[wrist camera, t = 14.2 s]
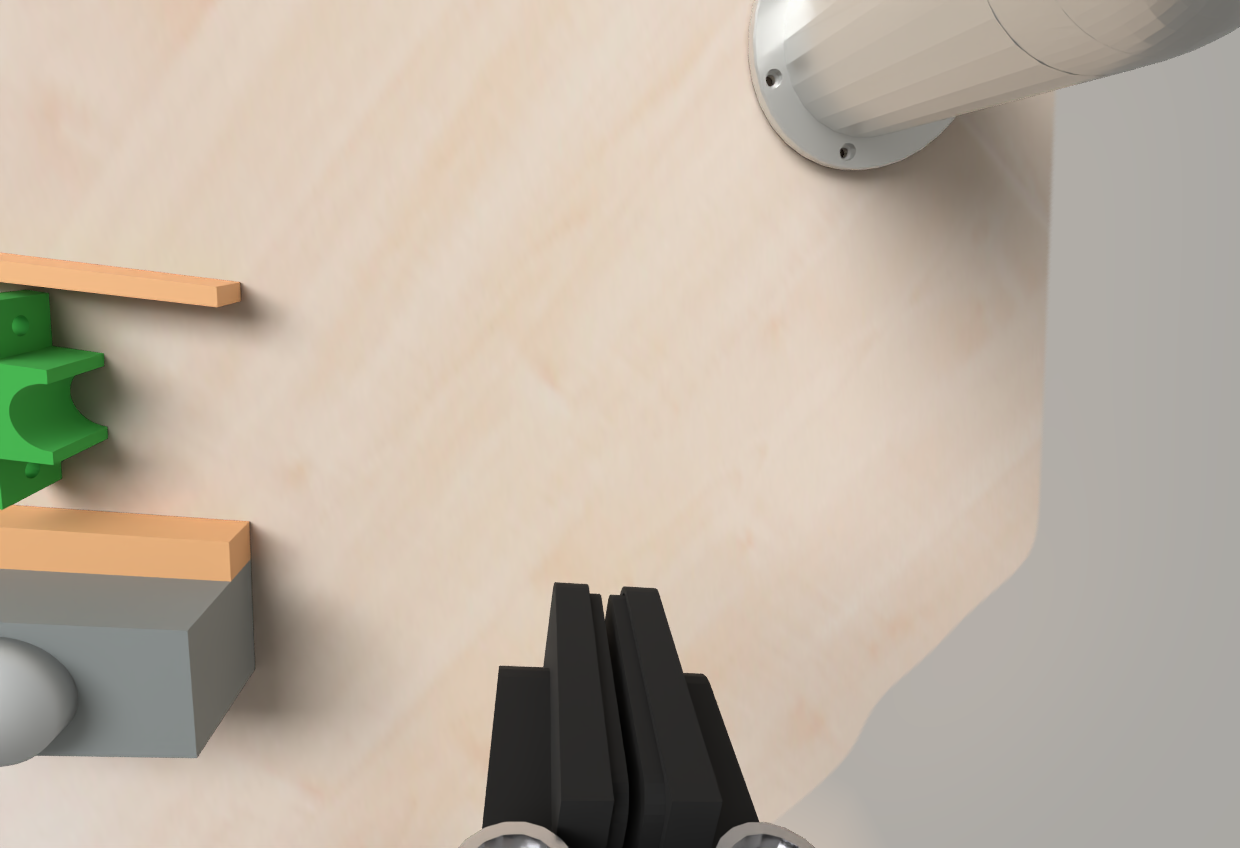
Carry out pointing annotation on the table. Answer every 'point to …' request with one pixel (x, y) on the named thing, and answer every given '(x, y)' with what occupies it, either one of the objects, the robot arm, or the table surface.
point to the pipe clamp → (38, 398)
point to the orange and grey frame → (119, 596)
